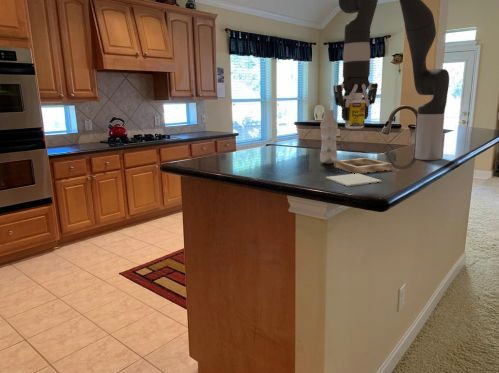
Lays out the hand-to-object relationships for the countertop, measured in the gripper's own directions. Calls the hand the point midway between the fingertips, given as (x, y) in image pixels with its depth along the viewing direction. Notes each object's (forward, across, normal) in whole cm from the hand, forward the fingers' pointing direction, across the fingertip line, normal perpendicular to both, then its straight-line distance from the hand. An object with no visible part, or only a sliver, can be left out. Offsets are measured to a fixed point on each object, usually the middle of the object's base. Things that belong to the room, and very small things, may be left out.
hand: (354, 119), depth 115 cm
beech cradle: (+19, -13, -14) cm, 27 cm away
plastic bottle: (+19, -8, -28) cm, 35 cm away
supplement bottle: (+3, 0, 0) cm, 3 cm away
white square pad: (+18, 0, 0) cm, 18 cm away
